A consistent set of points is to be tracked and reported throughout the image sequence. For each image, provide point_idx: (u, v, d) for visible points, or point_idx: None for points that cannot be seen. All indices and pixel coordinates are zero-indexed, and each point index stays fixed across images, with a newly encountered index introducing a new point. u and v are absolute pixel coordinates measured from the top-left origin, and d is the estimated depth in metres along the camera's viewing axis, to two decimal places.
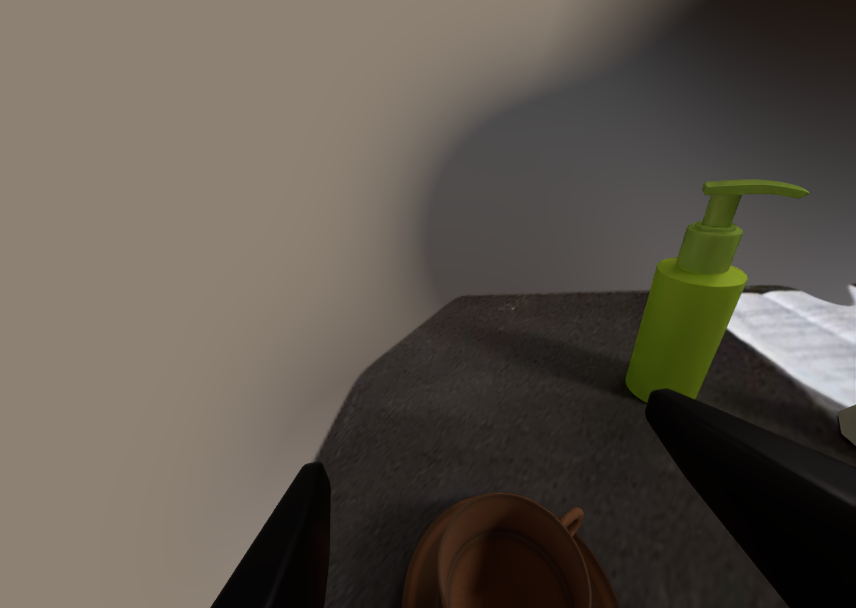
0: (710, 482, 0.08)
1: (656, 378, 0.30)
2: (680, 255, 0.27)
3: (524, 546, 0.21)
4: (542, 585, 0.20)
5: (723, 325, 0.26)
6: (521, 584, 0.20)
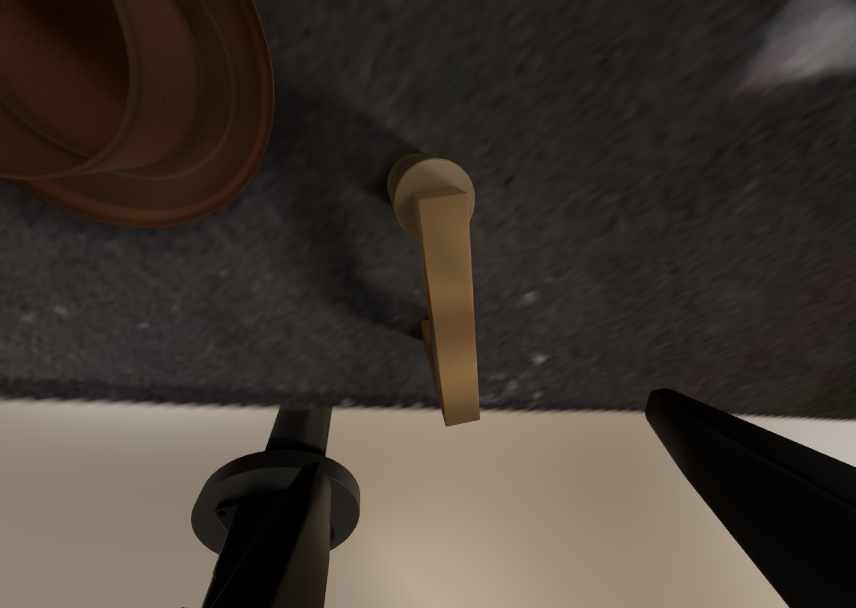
0: (710, 481, 0.08)
1: None
2: None
3: None
4: None
5: None
6: None
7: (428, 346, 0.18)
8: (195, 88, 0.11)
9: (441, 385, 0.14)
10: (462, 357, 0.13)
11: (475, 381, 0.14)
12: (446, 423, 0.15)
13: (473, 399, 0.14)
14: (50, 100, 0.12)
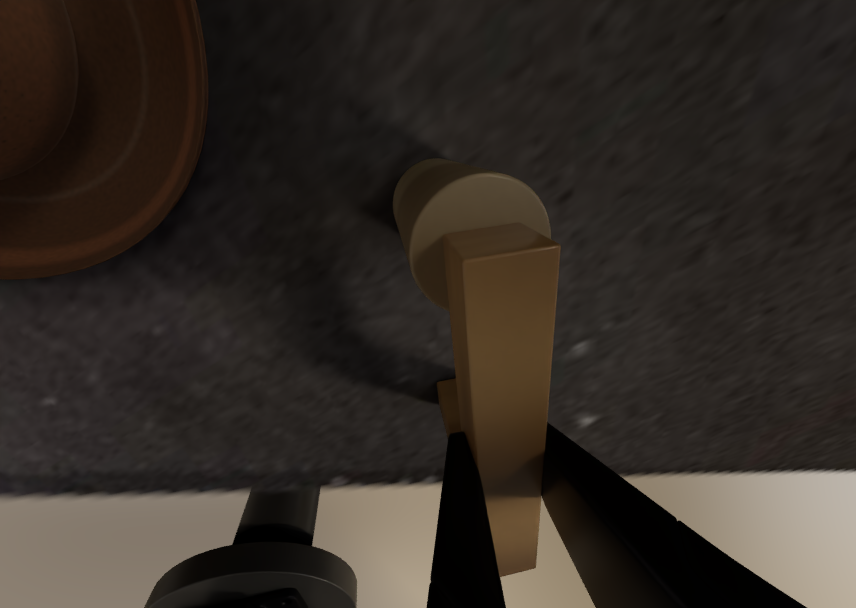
0: (564, 517, 0.07)
1: None
2: None
3: None
4: None
5: None
6: None
7: (450, 430, 0.13)
8: (47, 45, 0.06)
9: None
10: (519, 498, 0.08)
11: (535, 525, 0.09)
12: None
13: (529, 546, 0.09)
14: None
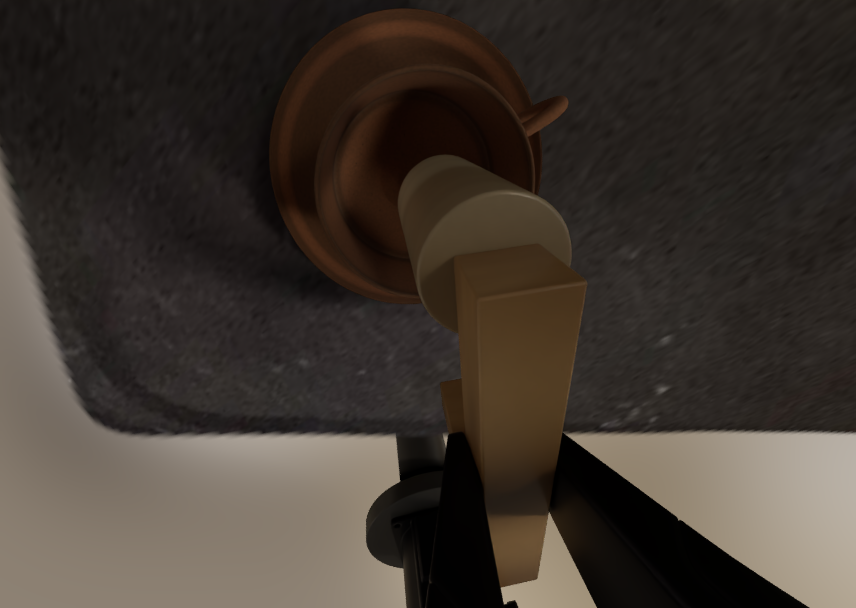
0: (565, 517, 0.07)
1: None
2: None
3: (454, 116, 0.14)
4: None
5: None
6: (435, 153, 0.16)
7: None
8: None
9: None
10: (525, 521, 0.08)
11: (540, 544, 0.08)
12: None
13: (532, 561, 0.09)
14: (363, 211, 0.16)
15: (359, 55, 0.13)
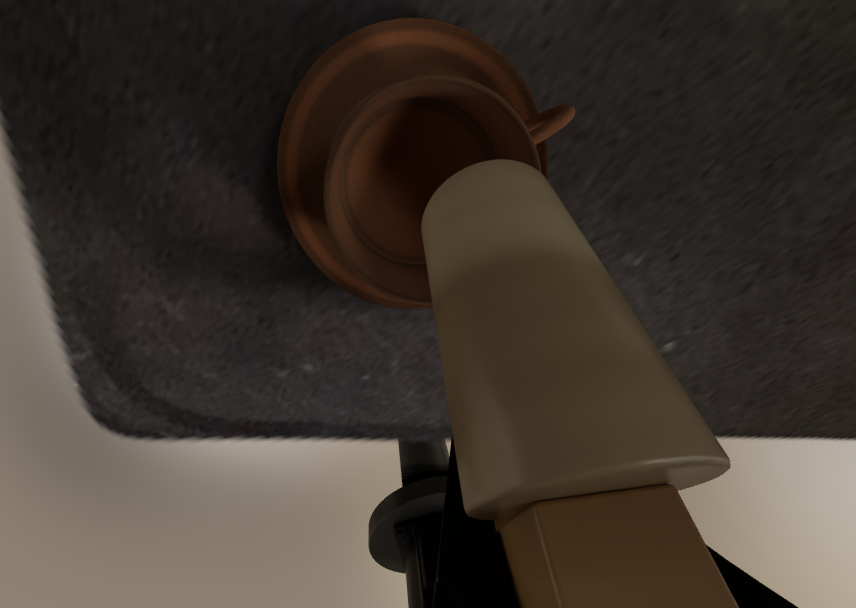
0: None
1: None
2: None
3: (461, 124, 0.14)
4: None
5: None
6: (441, 159, 0.16)
7: None
8: None
9: None
10: None
11: None
12: None
13: None
14: (368, 217, 0.16)
15: (366, 63, 0.13)
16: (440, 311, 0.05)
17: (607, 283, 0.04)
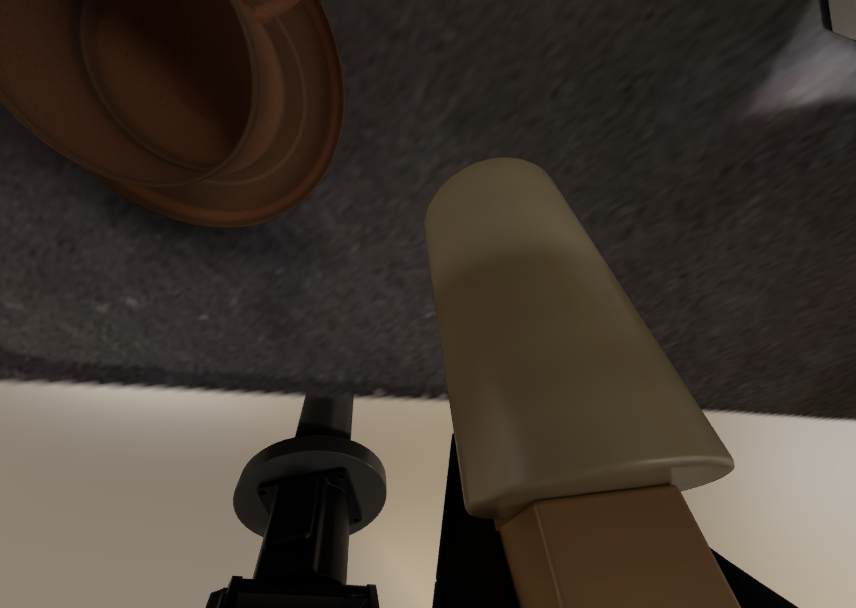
0: None
1: None
2: None
3: None
4: None
5: None
6: (231, 52, 0.14)
7: None
8: (281, 108, 0.13)
9: None
10: None
11: None
12: None
13: None
14: (148, 114, 0.14)
15: None
16: (443, 309, 0.05)
17: (611, 282, 0.04)
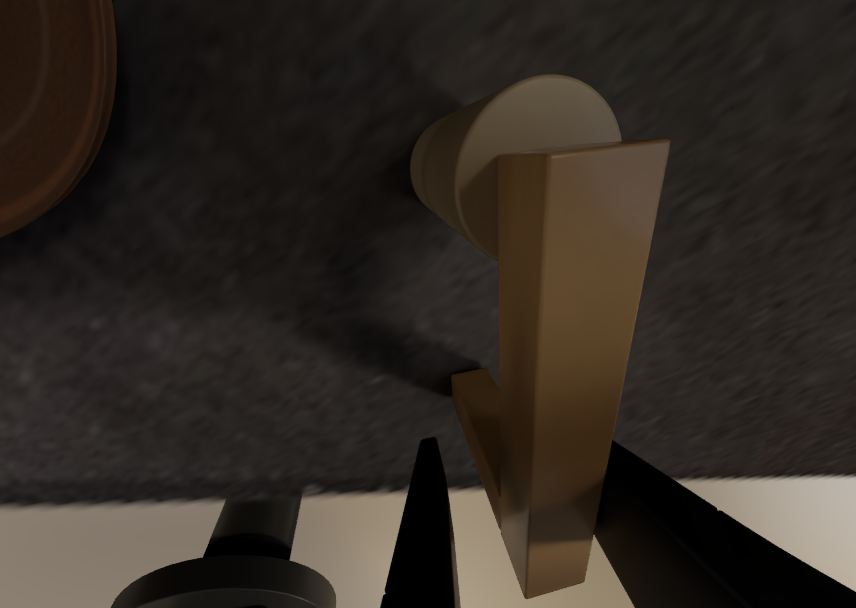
0: None
1: None
2: None
3: None
4: None
5: None
6: None
7: (472, 425, 0.11)
8: None
9: (528, 541, 0.07)
10: (577, 493, 0.06)
11: (591, 529, 0.07)
12: (526, 595, 0.08)
13: (581, 555, 0.08)
14: None
15: None
16: (426, 159, 0.07)
17: None
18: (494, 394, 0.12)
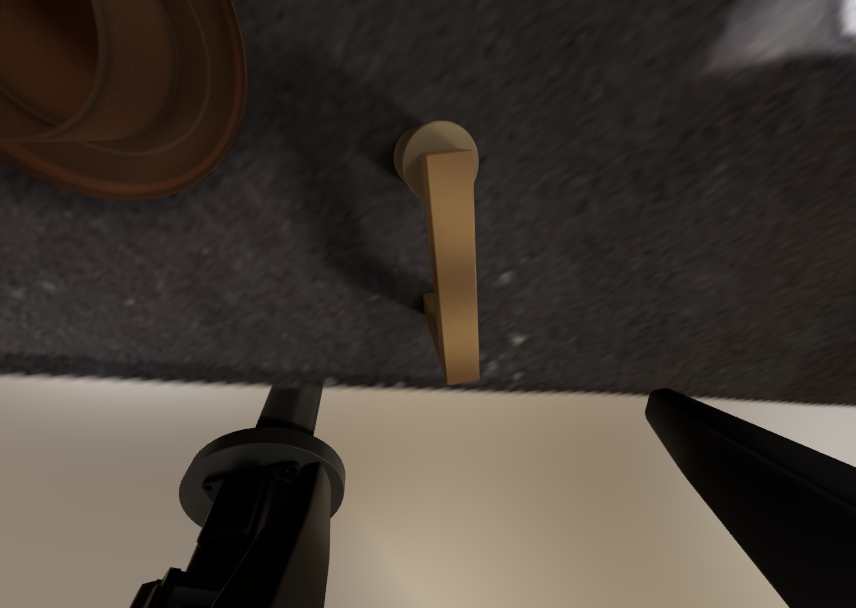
0: (710, 481, 0.08)
1: None
2: None
3: None
4: None
5: None
6: None
7: (430, 315, 0.18)
8: (169, 62, 0.12)
9: (443, 343, 0.14)
10: (464, 315, 0.14)
11: (476, 340, 0.14)
12: (447, 382, 0.15)
13: (473, 358, 0.15)
14: (32, 75, 0.13)
15: None
16: (397, 153, 0.15)
17: None
18: None
